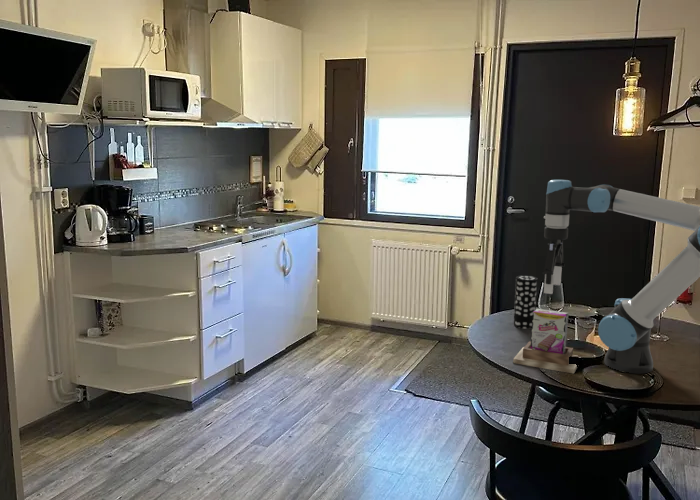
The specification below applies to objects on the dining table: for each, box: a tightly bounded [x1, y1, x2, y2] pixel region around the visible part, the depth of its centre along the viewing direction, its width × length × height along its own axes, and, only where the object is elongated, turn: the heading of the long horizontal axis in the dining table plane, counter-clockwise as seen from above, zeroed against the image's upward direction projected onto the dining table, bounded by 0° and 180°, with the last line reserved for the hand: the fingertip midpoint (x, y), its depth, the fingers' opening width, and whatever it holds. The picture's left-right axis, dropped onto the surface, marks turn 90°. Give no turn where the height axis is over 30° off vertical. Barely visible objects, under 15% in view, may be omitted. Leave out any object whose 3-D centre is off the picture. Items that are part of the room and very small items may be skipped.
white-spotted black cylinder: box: [513, 275, 538, 330], centre depth 261 cm, size 8×8×20 cm
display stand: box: [512, 340, 578, 375], centre depth 222 cm, size 20×14×5 cm
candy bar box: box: [530, 308, 569, 354], centre depth 220 cm, size 11×5×16 cm, turn 63°
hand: (552, 289), depth 217 cm, fingers open, 13 cm apart
